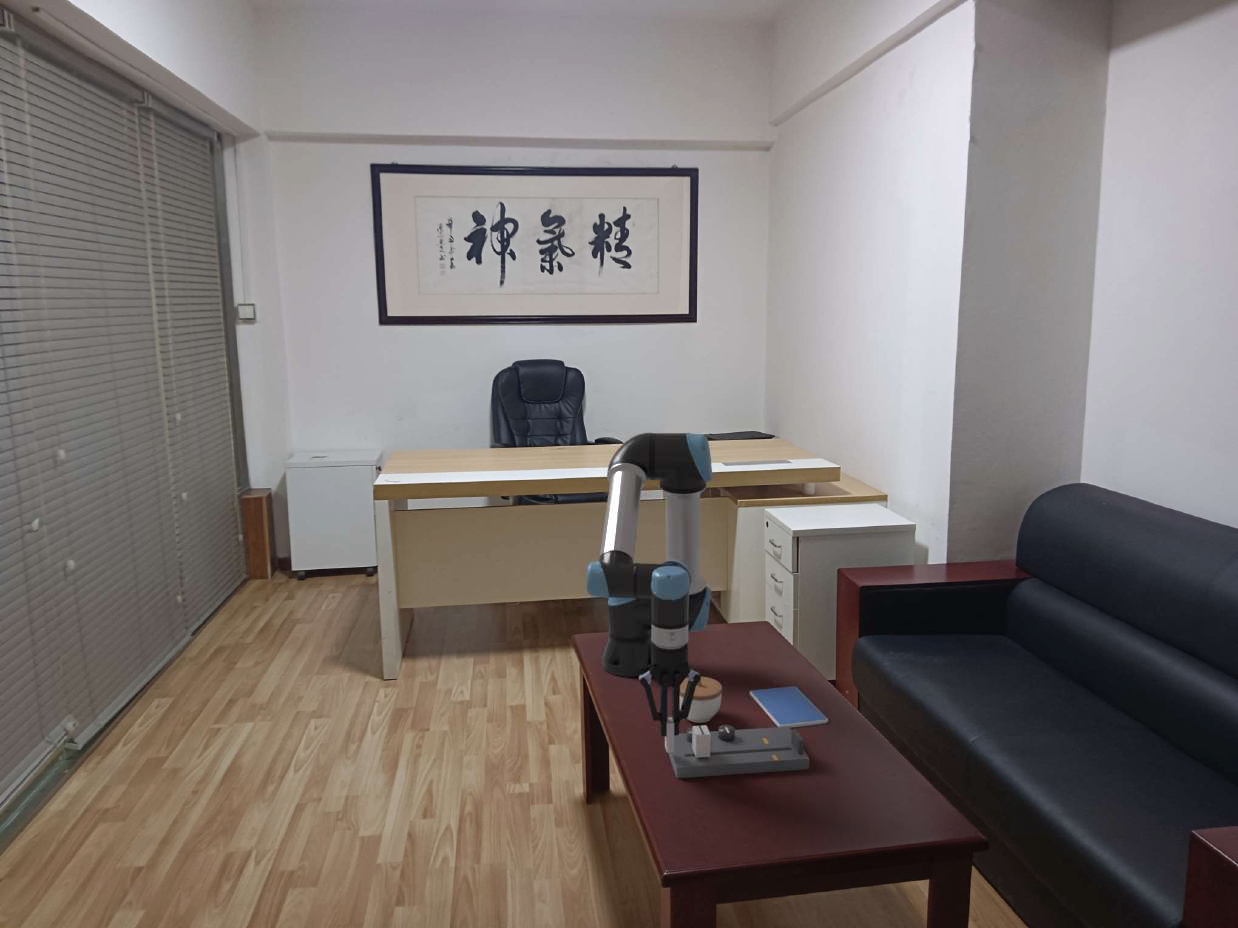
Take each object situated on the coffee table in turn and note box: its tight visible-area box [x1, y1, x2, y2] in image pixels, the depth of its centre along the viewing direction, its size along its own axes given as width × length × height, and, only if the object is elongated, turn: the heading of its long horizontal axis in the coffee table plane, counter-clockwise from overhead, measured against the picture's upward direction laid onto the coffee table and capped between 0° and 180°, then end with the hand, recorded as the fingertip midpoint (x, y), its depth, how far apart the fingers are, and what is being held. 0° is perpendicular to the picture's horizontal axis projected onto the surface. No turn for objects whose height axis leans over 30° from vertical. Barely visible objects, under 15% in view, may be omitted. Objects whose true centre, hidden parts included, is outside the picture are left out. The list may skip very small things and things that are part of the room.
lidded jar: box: [680, 676, 723, 724], centre depth 209 cm, size 11×11×9 cm
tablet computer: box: [749, 685, 829, 729], centre depth 214 cm, size 19×13×1 cm, turn 13°
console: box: [668, 724, 810, 779], centre depth 191 cm, size 14×28×5 cm, turn 97°
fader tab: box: [691, 725, 711, 758], centre depth 187 cm, size 4×3×5 cm
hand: (669, 748), depth 187 cm, fingers closed
